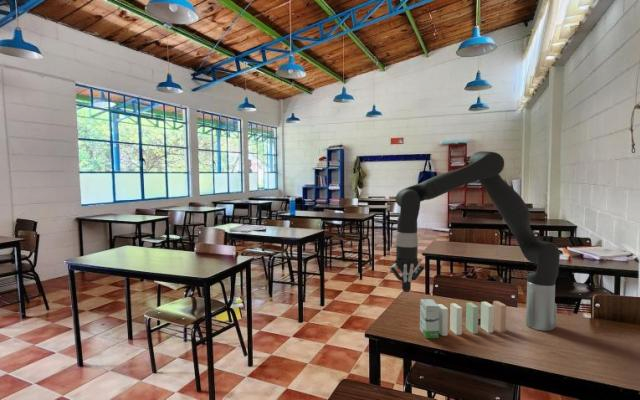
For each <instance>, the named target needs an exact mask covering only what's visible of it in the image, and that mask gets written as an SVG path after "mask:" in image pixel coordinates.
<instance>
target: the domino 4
mask: <svg viewBox="0 0 640 400" xmlns="http://www.w3.org/2000/svg"><path fill="white" fill-rule="evenodd" d="M480 310H481V313H480V319H481V323H480V328H481V329H482V330H484V331H485V332H487V334H489V333H490V334H491V333H494V327H493V318H494V306H493V304H491V303H489V302H488V301H480Z"/></svg>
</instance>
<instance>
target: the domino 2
mask: <svg viewBox="0 0 640 400" xmlns="http://www.w3.org/2000/svg"><path fill="white" fill-rule="evenodd" d="M449 307H450V309H449V314H450V315H449V330H450V331H451V332H453V333H454V335H456V336H461V335H462V333H463V332H462V329H463V327H462V326H463V307H462V306H460V305H459V304H457V303H456V302H455V303H452V302H451V303H450V306H449Z"/></svg>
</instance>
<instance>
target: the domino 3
mask: <svg viewBox="0 0 640 400" xmlns="http://www.w3.org/2000/svg"><path fill="white" fill-rule="evenodd" d="M465 306H466V311H465V312H466V313H465V330H467V331H469V332H470V333H471V334H478V333H479V323H478V319H479V313H478V309H479V306H478V305H476V304H475V303H473V302H466V303H465Z"/></svg>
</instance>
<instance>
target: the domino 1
mask: <svg viewBox="0 0 640 400" xmlns="http://www.w3.org/2000/svg"><path fill="white" fill-rule="evenodd" d="M436 304H437V305H438V306H439V335H441V336H448V334H449V333H448V331H449V330H448V328H449V308H448V307H446V306H445V305H444V304H442V303H436Z"/></svg>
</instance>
